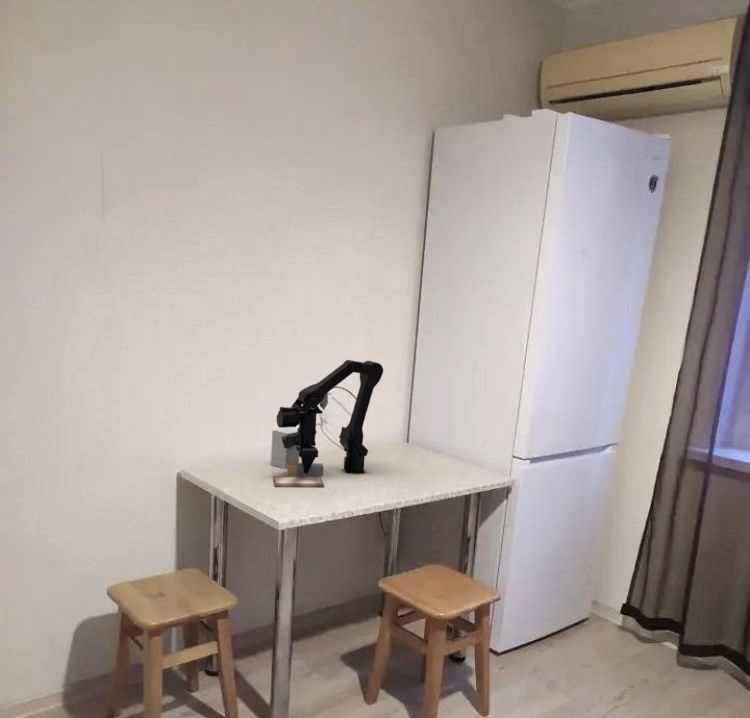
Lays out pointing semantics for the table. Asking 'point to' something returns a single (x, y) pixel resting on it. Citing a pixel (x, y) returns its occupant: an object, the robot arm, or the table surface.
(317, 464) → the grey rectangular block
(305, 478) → the writing board
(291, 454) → the supplement box
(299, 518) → the table surface
